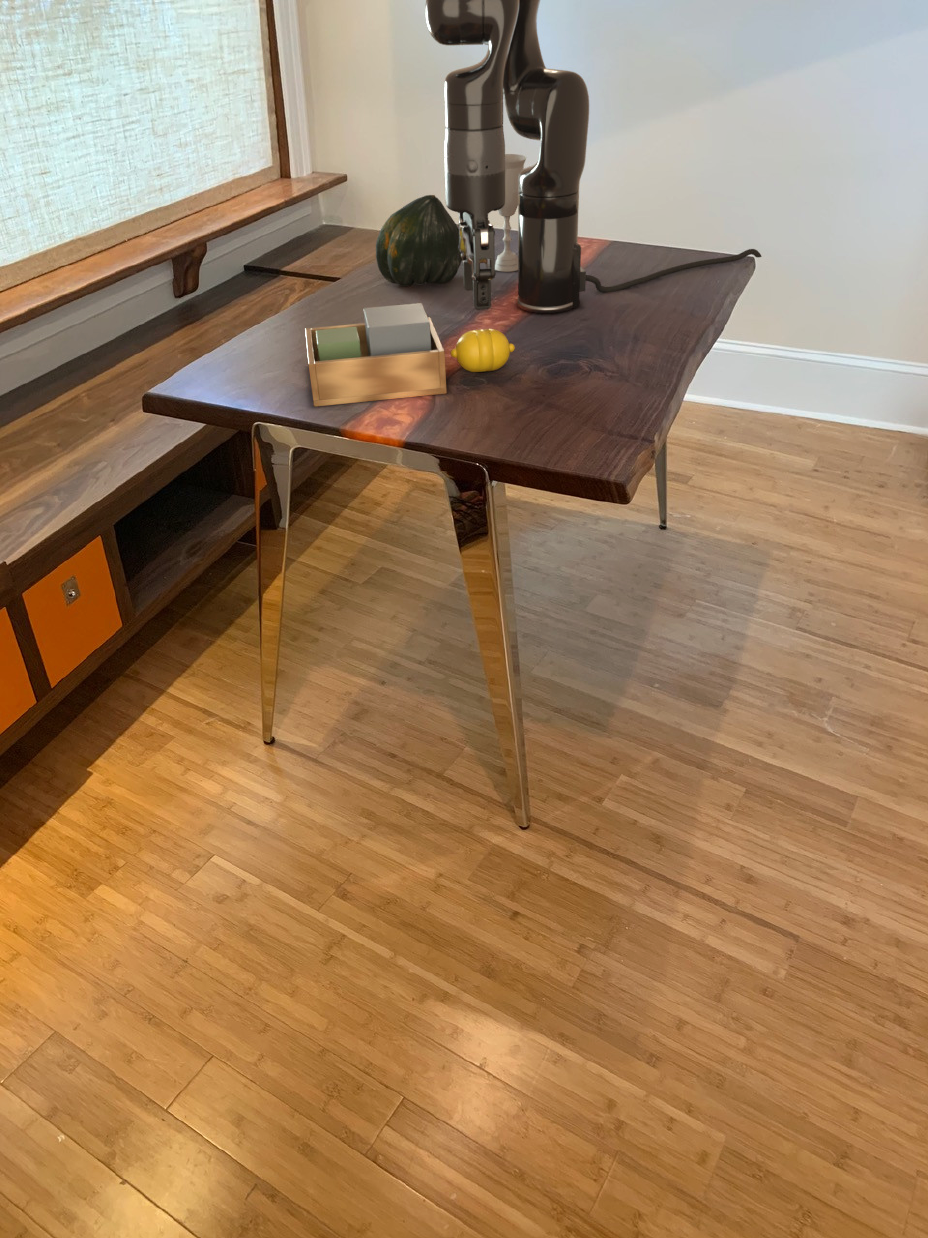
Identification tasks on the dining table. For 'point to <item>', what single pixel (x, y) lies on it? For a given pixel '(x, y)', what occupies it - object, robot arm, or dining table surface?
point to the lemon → (482, 350)
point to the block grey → (397, 329)
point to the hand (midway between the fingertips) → (476, 298)
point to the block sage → (338, 343)
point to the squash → (419, 244)
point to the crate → (375, 372)
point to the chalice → (510, 210)
